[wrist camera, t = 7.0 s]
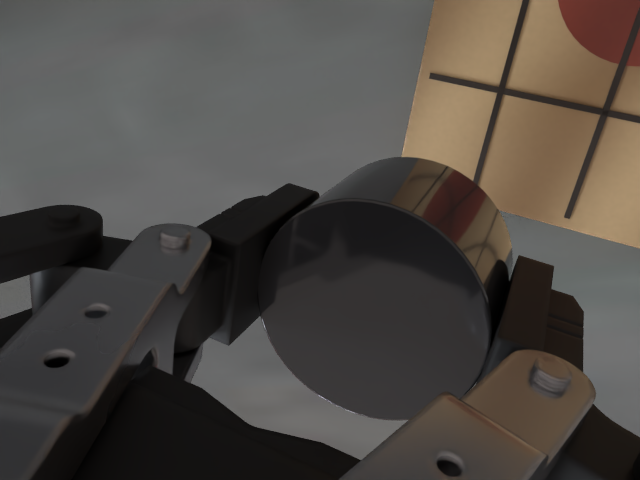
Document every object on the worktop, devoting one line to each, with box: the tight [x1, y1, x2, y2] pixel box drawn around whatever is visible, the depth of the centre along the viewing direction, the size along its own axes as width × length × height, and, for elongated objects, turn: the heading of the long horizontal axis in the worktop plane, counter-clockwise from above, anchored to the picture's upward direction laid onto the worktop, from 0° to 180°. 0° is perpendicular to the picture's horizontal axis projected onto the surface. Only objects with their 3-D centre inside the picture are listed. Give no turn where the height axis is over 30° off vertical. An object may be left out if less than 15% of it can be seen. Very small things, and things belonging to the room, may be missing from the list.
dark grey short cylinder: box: [257, 157, 513, 420], centre depth 12 cm, size 5×5×3 cm
